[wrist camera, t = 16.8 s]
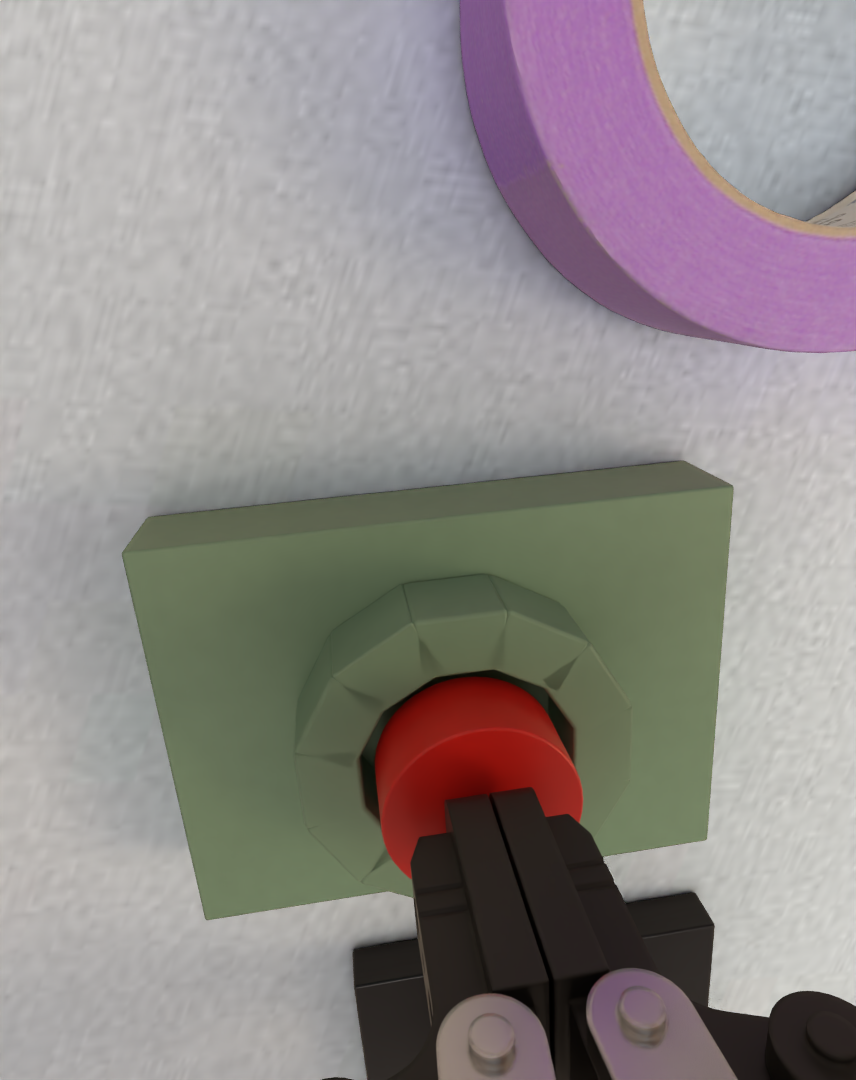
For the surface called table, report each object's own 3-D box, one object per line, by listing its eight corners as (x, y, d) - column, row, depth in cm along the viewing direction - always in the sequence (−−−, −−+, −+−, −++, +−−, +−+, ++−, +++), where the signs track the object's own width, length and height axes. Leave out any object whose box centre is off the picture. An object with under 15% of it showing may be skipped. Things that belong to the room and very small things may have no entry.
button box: (217, 851, 19) (191, 993, 15) (147, 516, 16) (91, 591, 12) (668, 782, 20) (747, 898, 16) (684, 459, 17) (787, 511, 13)
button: (383, 842, 15) (390, 912, 13) (365, 688, 14) (371, 745, 12) (555, 816, 15) (583, 880, 14) (554, 663, 14) (584, 715, 12)
